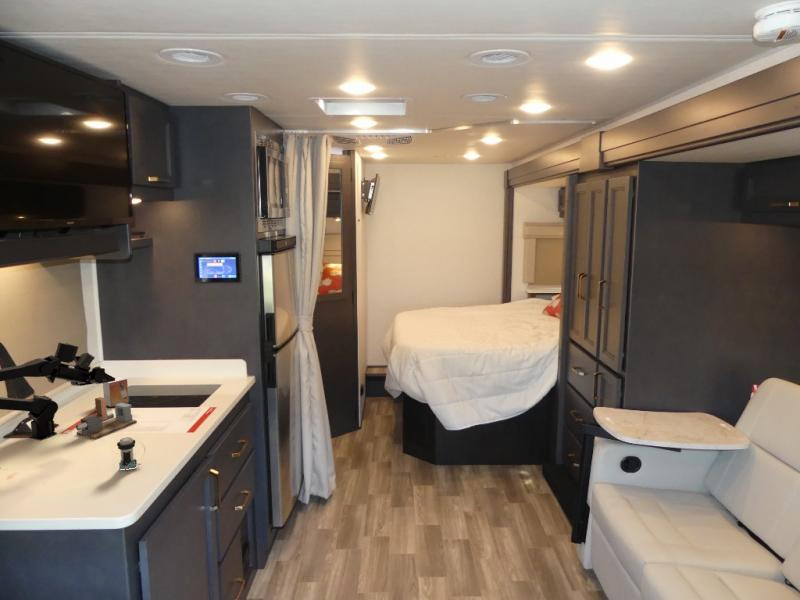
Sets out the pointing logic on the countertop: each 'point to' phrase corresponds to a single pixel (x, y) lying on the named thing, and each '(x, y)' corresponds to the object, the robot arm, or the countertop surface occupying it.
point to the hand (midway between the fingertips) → (108, 380)
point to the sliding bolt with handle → (98, 412)
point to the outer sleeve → (92, 424)
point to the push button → (127, 453)
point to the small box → (116, 391)
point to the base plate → (109, 428)
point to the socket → (123, 412)
